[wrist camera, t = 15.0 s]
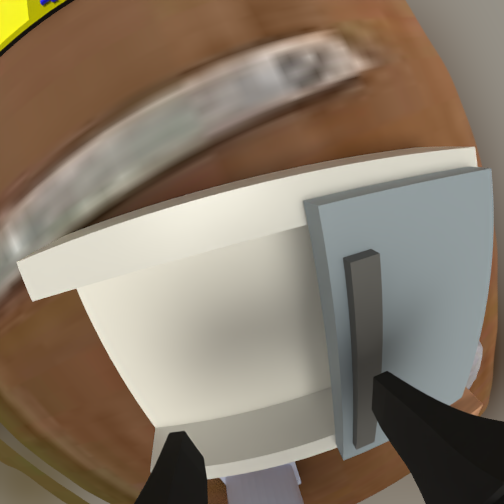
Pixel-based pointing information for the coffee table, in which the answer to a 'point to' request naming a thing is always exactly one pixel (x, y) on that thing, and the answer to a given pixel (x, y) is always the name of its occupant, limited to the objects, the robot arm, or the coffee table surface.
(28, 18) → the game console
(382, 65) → the coffee table surface
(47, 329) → the coffee table surface
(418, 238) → the slide cover
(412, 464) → the robot arm
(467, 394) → the block
